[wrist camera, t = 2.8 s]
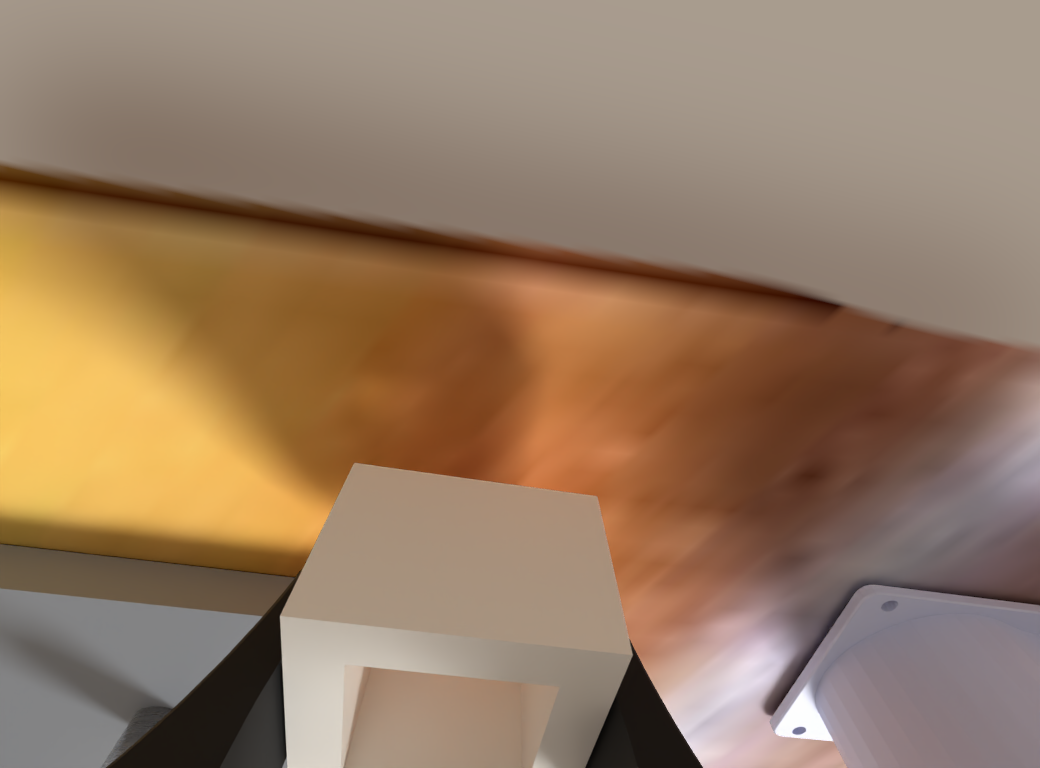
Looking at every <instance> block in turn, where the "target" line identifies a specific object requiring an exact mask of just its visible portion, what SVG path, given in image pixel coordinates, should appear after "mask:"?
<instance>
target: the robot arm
mask: <svg viewBox="0 0 1040 768" xmlns="http://www.w3.org/2000/svg"><path fill="white" fill-rule="evenodd" d="M301 571H302V570H301ZM301 571H300V572H299V573H298V574H297V576H296V577H295V578H294V580H293V581H292V582H291V583H290V585H289V586H288V587H287V588H286V590H285V591H284V592H283V593H282V594H281V596H280V597H279V598H278V599H277V600H276V602H275V603H274V604H273V605H272V606H271V607H270V609H269V610H268V611H267V612H266V613H265V614H264V615H263V617H262V618H261V619H260V620H259V621H258V622H257V623H256V624H255V626H254V627H253V628H252V629H251V630H250V631H249V632H248V633H247V634H246V635H245V636H244V637H243V639H242V640H241V641H240V642H239V643H238V644H237V645H236V646H235V647H234V648H233V649H232V650H231V651H230V653H229V654H228V655H227V656H226V657H225V658H224V659H223V660H222V661H221V662H220V663H219V664H218V665H217V666H216V667H215V668H214V669H213V670H212V671H211V672H210V673H209V674H208V675H207V676H206V677H205V678H204V679H203V680H202V681H201V682H200V683H199V684H198V685H197V686H196V687H195V688H194V689H193V690H192V691H191V692H190V693H189V694H188V695H187V696H186V697H185V698H184V699H183V700H181V701H180V702H179V703H178V704H177V705H176V706H175V707H174V708H173V709H172V710H171V711H170V712H169V713H168V714H167V715H165V716H164V717H163V718H162V719H161V720H160V721H159V722H158V723H157V724H156V725H154V726H153V727H152V728H151V729H150V730H149V731H148V732H147V733H145V734H144V735H143V736H142V737H141V738H140V739H139V740H138V741H136V742H135V743H134V744H133V745H132V746H131V747H130V748H128V749H127V750H126V751H125V752H124V753H123V754H121V755H120V756H119V757H118V758H117V759H115V760H114V761H113V762H112V763H111V764H109V765H108V766H107V767H106V768H282V767H283V765H284V762H285V760H286V757H287V750H286V730H285V709H284V689H283V669H282V648H281V628H280V615H281V613H282V611H283V609H284V607H285V604H286V602H287V600H288V598H289V596H290V594H291V592H292V590H293V588H294V586H295V584H296V582H297V580H298V578H299V576H300V574H301ZM629 641H630V639H629ZM630 645H631V650H632V654H633V656H632V658H631V661H630V663H629V665H628V668H627V670H626V672H625V675H624V677H623V679H622V682H621V684H620V687H619V689H618V691H617V694H616V696H615V698H614V701H613V703H612V705H611V708H610V710H609V713H608V715H607V717H606V720H605V722H604V724H603V727H602V729H601V731H600V734H599V736H598V739H597V741H596V743H595V746H594V748H593V750H592V753H591V755H590V757H589V760H588V762H587V764H586V767H585V768H703V767H702V765H701V764H700V762H699V761H698V759H697V757H696V756H695V754H694V753H693V751H692V750H691V748H690V746H689V745H688V743H687V742H686V740H685V738H684V737H683V735H682V733H681V732H680V730H679V729H678V727H677V725H676V724H675V722H674V720H673V719H672V717H671V715H670V713H669V712H668V710H667V708H666V707H665V705H664V703H663V701H662V699H661V698H660V696H659V694H658V692H657V690H656V689H655V687H654V685H653V683H652V682H651V680H650V678H649V676H648V674H647V672H646V670H645V669H644V667H643V665H642V663H641V661H640V659H639V657H638V655H637V653H636V651H635V649H634V647H633V645H632V643H631V641H630ZM770 724H771V727H772V729H773V731H774V733H775V734H777V735H779V736H784V737H794V738H805V739H815V740H826V741H834V743H835V745H836V747H837V749H838V751H839V753H840V755H841V757H842V759H843V760H844V762H845V764H846V766H847V768H1040V605H1034V604H1026V603H1018V602H1010V601H1002V600H994V599H986V598H978V597H970V596H962V595H954V594H946V593H938V592H930V591H922V590H914V589H906V588H898V587H890V586H882V585H866V586H863V587H861V588H860V589H858V590H857V591H856V592H855V594H854V595H853V597H852V598H851V600H850V601H849V603H848V604H847V605H846V607H845V608H844V610H843V611H842V613H841V614H840V616H839V617H838V619H837V620H836V622H835V623H834V625H833V626H832V628H831V629H830V631H829V632H828V634H827V635H826V637H825V638H824V640H823V641H822V643H821V644H820V646H819V647H818V649H817V650H816V652H815V653H814V655H813V656H812V658H811V659H810V661H809V662H808V664H807V665H806V667H805V668H804V670H803V671H802V673H801V674H800V676H799V677H798V679H797V680H796V682H795V683H794V685H793V686H792V688H791V689H790V691H789V692H788V694H787V695H786V697H785V698H784V700H783V701H782V703H781V704H780V706H779V707H778V709H777V710H776V712H775V713H774V715H773V716H772V718H771V720H770Z"/></svg>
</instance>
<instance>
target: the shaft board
mask: <svg viewBox="0 0 1040 768" xmlns="http://www.w3.org/2000/svg"><path fill="white" fill-rule="evenodd" d="M293 580H294V577H285V576H276V575H267V574H259V573H250V572H241V571H232V570H223V569H215V568H206V567H197V566H188V565H179V564H171V563H162V562H153V561H144V560H136V559H127V558H118V557H109V556H100V555H92V554H83V553H74V552H65V551H56V550H48V549H39V548H30V547H21V546H12V545H4V544H0V768H106V767H107V766H108V765H109V764H111V763H112V762H113V761H114V760H115V759H117V758H118V757H119V756H120V755H121V754H123V753H124V752H125V751H126V750H127V749H128V748H130V747H131V746H132V745H133V744H134V743H135V742H136V741H138V740H139V739H140V738H141V737H142V736H143V735H144V734H145V733H147V732H148V731H149V730H150V729H151V728H152V727H153V726H154V725H156V724H157V723H158V722H159V721H160V720H161V719H162V718H163V717H164V716H165V715H167V714H168V713H169V712H170V711H171V710H172V709H173V708H174V707H175V706H176V705H177V704H178V703H179V702H180V701H181V700H183V699H184V698H185V697H186V696H187V695H188V694H189V693H190V692H191V691H192V690H193V689H194V688H195V687H196V686H197V685H198V684H199V683H200V682H201V681H202V680H203V679H204V678H205V677H206V676H207V675H208V674H209V673H210V672H211V671H212V670H213V669H214V668H215V667H216V666H217V665H218V664H219V663H220V662H221V661H222V660H223V659H224V658H225V657H226V656H227V655H228V654H229V653H230V651H231V650H232V649H233V648H234V647H235V646H236V645H237V644H238V643H239V642H240V641H241V640H242V639H243V637H244V636H245V635H246V634H247V633H248V632H249V631H250V630H251V629H252V628H253V627H254V626H255V624H256V623H257V622H258V621H259V620H260V619H261V618H262V617H263V615H264V614H265V613H266V612H267V611H268V610H269V609H270V607H271V606H272V605H273V604H274V603H275V602H276V600H277V599H278V598H279V597H280V596H281V594H282V593H283V592H284V591H285V590H286V588H287V587H288V586H289V585H290V583H291V582H292V581H293ZM282 768H287V757H286V760H285V762H284V765H283V767H282Z"/></svg>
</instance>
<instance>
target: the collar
mask: <svg viewBox="0 0 1040 768" xmlns="http://www.w3.org/2000/svg"><path fill="white" fill-rule="evenodd" d="M280 628H281V648H282V669H283V689H284V709H285V730H286V750H287V768H585V767H586V764H587V762H588V760H589V757H590V755H591V753H592V750H593V748H594V746H595V743H596V741H597V739H598V736H599V734H600V731H601V729H602V727H603V724H604V722H605V720H606V717H607V715H608V713H609V710H610V708H611V705H612V703H613V701H614V698H615V696H616V694H617V691H618V689H619V687H620V684H621V682H622V679H623V677H624V675H625V672H626V670H627V668H628V665H629V663H630V661H631V658H632V656H633V654H632V650H631V645H630V641H629V636H628V632H627V627H626V623H625V618H624V614H623V609H622V605H621V600H620V596H619V591H618V587H617V582H616V578H615V573H614V569H613V564H612V560H611V556H610V551H609V547H608V542H607V538H606V533H605V529H604V524H603V520H602V515H601V511H600V506H599V502H598V497H597V496H591V495H584V494H577V493H570V492H562V491H555V490H548V489H541V488H534V487H526V486H519V485H512V484H505V483H497V482H490V481H483V480H476V479H468V478H461V477H454V476H447V475H439V474H432V473H425V472H418V471H411V470H403V469H396V468H389V467H382V466H374V465H367V464H360V463H354V464H353V466H352V468H351V470H350V473H349V475H348V477H347V479H346V481H345V483H344V485H343V487H342V489H341V491H340V493H339V495H338V497H337V499H336V501H335V503H334V506H333V508H332V510H331V512H330V514H329V516H328V518H327V520H326V522H325V524H324V526H323V528H322V530H321V532H320V534H319V536H318V539H317V541H316V543H315V545H314V547H313V549H312V551H311V553H310V555H309V557H308V559H307V561H306V563H305V565H304V567H303V569H302V571H301V574H300V576H299V578H298V580H297V582H296V584H295V586H294V588H293V590H292V592H291V594H290V596H289V598H288V600H287V602H286V604H285V607H284V609H283V611H282V613H281V615H280Z"/></svg>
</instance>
